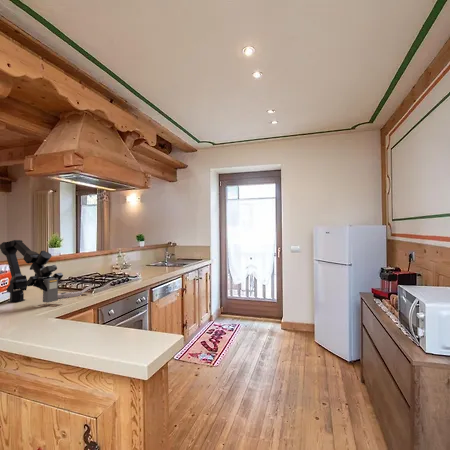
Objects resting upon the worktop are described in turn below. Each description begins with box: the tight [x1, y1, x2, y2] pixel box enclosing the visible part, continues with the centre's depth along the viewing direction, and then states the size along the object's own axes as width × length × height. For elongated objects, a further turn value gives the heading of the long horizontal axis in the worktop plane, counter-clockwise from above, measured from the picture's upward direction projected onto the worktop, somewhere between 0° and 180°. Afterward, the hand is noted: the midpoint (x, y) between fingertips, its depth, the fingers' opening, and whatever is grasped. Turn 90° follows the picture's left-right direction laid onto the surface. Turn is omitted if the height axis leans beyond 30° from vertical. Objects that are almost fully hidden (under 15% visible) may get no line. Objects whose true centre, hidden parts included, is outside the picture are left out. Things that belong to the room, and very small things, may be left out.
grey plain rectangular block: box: [42, 278, 59, 304], centre depth 156 cm, size 4×6×13 cm
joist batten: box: [37, 302, 63, 308], centre depth 155 cm, size 12×5×1 cm, turn 76°
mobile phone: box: [58, 284, 94, 300], centre depth 181 cm, size 6×6×25 cm
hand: (52, 289), depth 156 cm, fingers closed on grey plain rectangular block, 6 cm apart
